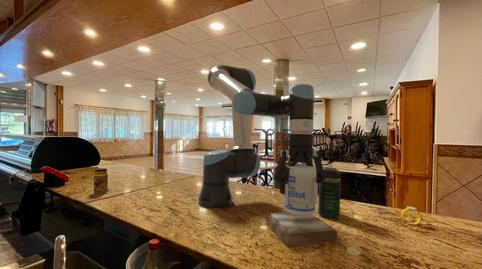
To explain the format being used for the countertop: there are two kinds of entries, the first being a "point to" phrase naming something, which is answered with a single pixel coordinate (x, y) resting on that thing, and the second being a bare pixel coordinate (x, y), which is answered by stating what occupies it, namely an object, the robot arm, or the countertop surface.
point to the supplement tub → (301, 190)
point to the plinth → (300, 229)
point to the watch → (411, 210)
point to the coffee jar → (330, 193)
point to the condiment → (100, 181)
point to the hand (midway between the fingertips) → (299, 203)
